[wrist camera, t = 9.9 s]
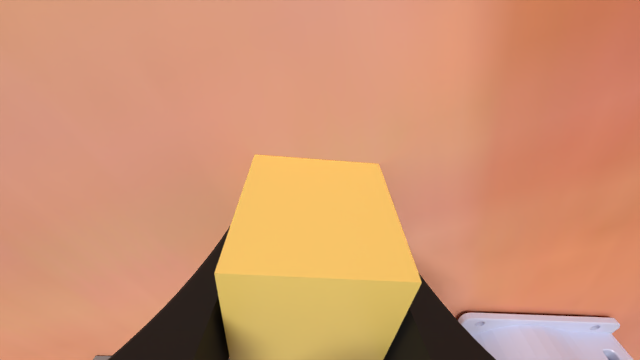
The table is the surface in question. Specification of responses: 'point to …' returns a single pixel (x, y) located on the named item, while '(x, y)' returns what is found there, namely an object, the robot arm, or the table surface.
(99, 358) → the baseplate
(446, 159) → the table surface
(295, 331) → the mustard brick
